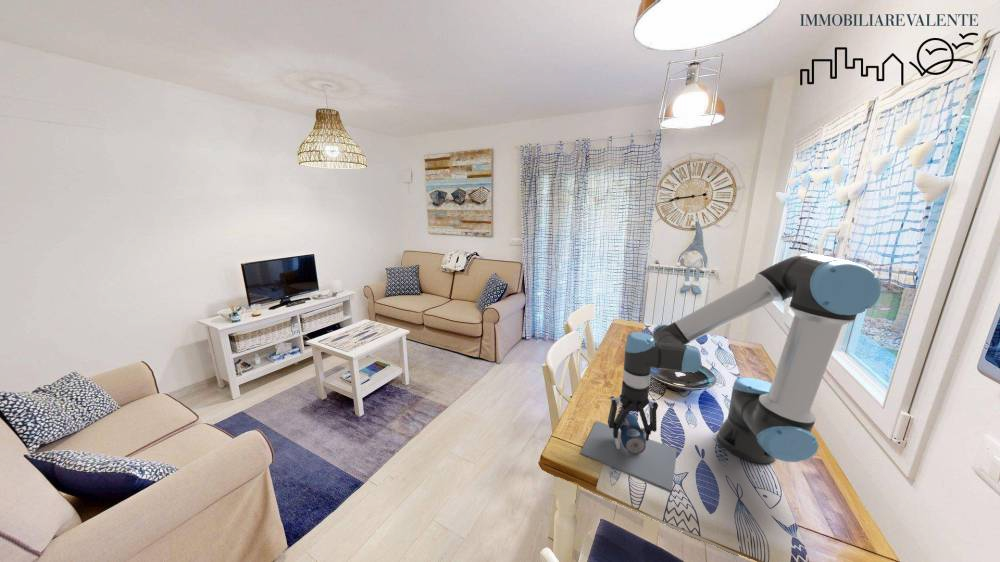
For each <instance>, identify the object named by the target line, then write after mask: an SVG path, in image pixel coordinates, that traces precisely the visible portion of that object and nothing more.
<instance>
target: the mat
mask: <svg viewBox="0 0 1000 562" xmlns="http://www.w3.org/2000/svg"><path fill="white" fill-rule="evenodd" d="M615 439H616V438H614V436H613V428H609V425H608V423H604V422H602V421H598V420H596V421H595V423H594V424H593V426H592V428H591V431H590V433H589V434H588V436H587V439H586V441H585V443H584V445H583V447H582V448H581V451H580V455H581V456H582V455H583V456H584V457H588V458H590V459H592V460H594V461H596V462H599V463H602V464H604V465H606V466H609V467H611V468H613V469H616V470H619V471H621V472H623V473H625V474H627V475H630V476H633V477H635V478H637V479H640V480H642V481H645V482H646V483H649V484H651V485H654V486H656V487H659V488H662V489H664V490H666V491H669V492H673V486H674V478H675V469H676V461H677V460H676V458H677V450H678V449H677V448H675V447H673V446H670V445H667V444H664V443H661V442H659V441H655V440H653V439H650V438H649V440H648V441H646V448H645V450H644V451H643V452H642V453H640V454H632V453H630V452H628V451H627V449H626V448H625V447H624V446H623V444H622V441H621V439H620V449H617V447H616V444H615Z"/></svg>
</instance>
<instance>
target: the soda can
mask: <svg viewBox="0 0 1000 562" xmlns="http://www.w3.org/2000/svg"><path fill="white" fill-rule="evenodd" d="M620 430H621V441H622V444H623V446H624V447H625V448H626V449H627V451H628V452H630V453H632V454H640V453H642V452H643V451H644V450H645V448H646V440H645V437H644V435H643V433H642V430H641V426H640V424H639V422H638V420H637V418H636V416H635V415H634V414H632V413H629V414H627V415H626V417H625V419H624V421H623V423H622V425H621V426H620Z"/></svg>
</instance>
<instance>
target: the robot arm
mask: <svg viewBox="0 0 1000 562" xmlns="http://www.w3.org/2000/svg"><path fill="white" fill-rule="evenodd" d="M881 292H882V285H881V282H880V279H879V277H878V276H877V275H876V274H875V272H874V271H872V270H871V269H869V268H868V267H867V266H864V265H862V264H860V263H856V262H853V261H851V260H847V259H843V258H835V257H831V256H826V255H822V254H817V253H803V254H797V255H794V256H792V257H789V258H786V259H784V260H781V261H779V262H777V263H775V264H773V265H771V266H769V267H767V268H765V269H763V270H761V271H759V272H757V273H756V274H755V275H754V279H753V280H751V281H748V282H747V283H745V284H743V285H741V286H739V287H737V288H735V289H734V290H732V291H730V292H728V293H726V294H724V295H723V296H721V297H719V298H717V299H715V300H713V301H711V302H709V303H708V304H706V305H704V306H701V307H700V308H698V309H696V310H694V311H692V312H690V313H689V314H688V315H687V314H686V315H685V316H683V317H681V318H680V319H678V320H676V321H674V322H673V323H670V324H667V323H666V324H665V323H663V324H658V325H656V326H655V327H654V328H653V329H652V330H653V331H652V335H651V334H650V333H644V332H640V331H636V332H635V331H633V332H631V333H629V334H628V335H627V337H626V343H625V346H624V360H623V361H624V362H623V370H622V371H623V373H622V383H621V393H620V395H619V396H618V397H615V396H610V402H611V403H610V409H609V412H608V413H609V414H608V418H607V425H609V428H613V436H614V438H616V439H615V444H616V447H617V449H620V439H621V430H620V426H621V425H622V423H623V421H624V419H625V417H626V415H627V414H630V412H637V413H639V416H640V420H641V421H642V422H641V423H642V425H643V427H641V426H640V428H641V430H642V433H643V435H644V437H645V440H646V441H648V440H649V439H650V438H649V437H650V435H651V434H652V432H653V433H654V432H657V410H658V407H659V404H658V401H656V399H655V398H651V399H650V398H649V393H650V384H651V383H650V382H651V373H652V369H659V370H665V371H666V370H667V371H672V372H674V371H679V372H692V373H695V372H699V370H700V368H701V364H702V355H701V351H700V349H699V348H698V347H697V346H695V345H694V346H693V345H689V344H690V343H691V342H694V341H695V340H698V339H700V338H701V337H704V336H705V335H708V334H710V333H711V332H713V331H715V330H717V329H719V328H721V327H724V326H725V325H728V324H730V323H732V322H734V321H736V320H737V319H741V318H742V317H744V316H746V315H748V314H750V313H752V312H755V311H756V310H758V309H760V308H762V307H764V306H766V305H768V304H770V303H772V302H779V303H780V302H782V301H785V300H786V299H787V300H788V299H790V298H791V299H790V300H791V301H790V304H789V305H788V306H789V308H790V310H791V311H792V312H793V313H794V316H793V318H792V322H791V324H790V328H789V330H788V333H787V337H786V340H785V343H784V345H783V348H782V352H781V354H780V357H779V361H778V364H777V367H776V370H775V371H774V375H773V378H772V381H771V382H769V381H766V380H762V379H758V378H755V377H754V378H753V377H739V378H736V379H735V380H734V383H733V386H732V390H731V396H730V402H729V408H728V414H727V417H726V418H725V420H724V422H723V423H722V424H721V425H720V427H719V429H718V433H717V439H718V441H719V443H720V444H721V445H722V447H723V448H725V449H726V450H727V451H729V453H732V454H733V455H734V456H736V457H738V458H741V459H742V460H746V461H749V462H752V463H755V464H771V463H773V462H774V461H775V460H778V461H782V462H787V463H798V462H802V461H807V460H809V459H811V458H813V457H814V456H815V455H816V454H817V452H818V451H819V450H818V449H819V442H818V440H817V437H816V436H815V435H814V433H812V430H813V428H814V425H815V422H816V418H817V417H816V415H815V414H814V412H813V411H812V410H811V408H812V406H813V404H814V400H815V398H816V396H817V392H818V390H819V388H820V385H821V382H822V381H823V380H822V379H823V377H824V375H825V372H826V370H827V366H828V364H829V361H830V359H831V356H832V354H833V351H834V348H835V346H836V343H837V340H838V338H839V335H840V333H841V330H842V327H843V326H844V325H846V324H850V323H852V322H854V321H855V320H856V317H857V315H858V314H862V313H864V312H865V311H866V310H867V309H871V308H872V307H873V306H875V305H876V303H877V302H878V301H879V299H880V296H881ZM620 403H621V408H620V409H619V411H618V414H617V410H618V406H619V405H620ZM646 406H649V423H648V420H647V417H646V412H645V410H644V409H645V408H646ZM616 415H617V416H616Z"/></svg>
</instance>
